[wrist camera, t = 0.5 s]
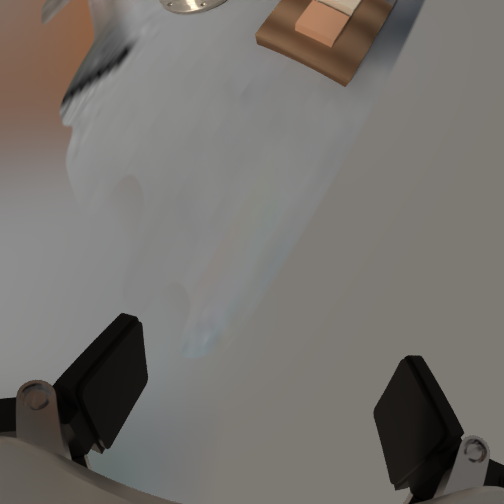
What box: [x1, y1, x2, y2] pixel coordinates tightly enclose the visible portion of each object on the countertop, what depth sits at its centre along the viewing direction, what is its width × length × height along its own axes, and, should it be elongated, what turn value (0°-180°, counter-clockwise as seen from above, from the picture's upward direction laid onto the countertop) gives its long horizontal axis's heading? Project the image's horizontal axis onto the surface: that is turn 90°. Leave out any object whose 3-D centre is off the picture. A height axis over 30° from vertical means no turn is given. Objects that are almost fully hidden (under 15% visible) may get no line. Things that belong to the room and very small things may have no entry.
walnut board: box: [255, 0, 393, 87], centre depth 25 cm, size 16×13×3 cm
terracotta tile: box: [295, 0, 350, 47], centre depth 24 cm, size 5×5×2 cm
